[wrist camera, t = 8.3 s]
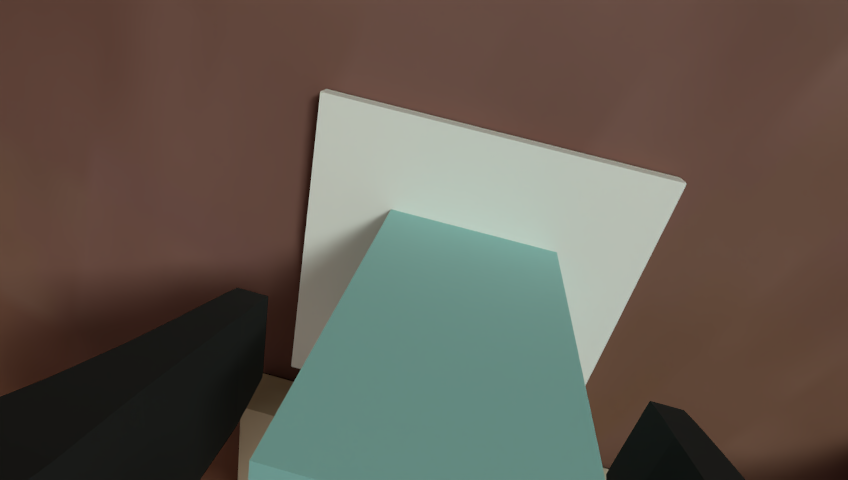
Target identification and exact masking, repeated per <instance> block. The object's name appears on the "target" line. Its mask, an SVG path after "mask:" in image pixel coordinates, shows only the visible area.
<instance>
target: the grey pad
mask: <svg viewBox="0 0 848 480" xmlns="http://www.w3.org/2000/svg"><path fill="white" fill-rule="evenodd" d="M685 186H686V183H685V182H684V181H683V180H682V179H681V178H680V177H676V176H672V175H668V174H664V173H660V172H656V171H652V170H648V169H644V168H640V167H636V166H632V165H628V164H624V163H620V162H616V161H612V160H608V159H604V158H600V157H596V156H592V155H588V154H584V153H580V152H576V151H572V150H568V149H564V148H560V147H556V146H552V145H548V144H544V143H540V142H536V141H532V140H528V139H524V138H520V137H516V136H512V135H508V134H504V133H500V132H496V131H492V130H488V129H484V128H480V127H476V126H472V125H468V124H464V123H460V122H456V121H453V120H449V119H445V118H441V117H437V116H433V115H429V114H425V113H421V112H417V111H413V110H409V109H405V108H401V107H397V106H393V105H389V104H385V103H381V102H377V101H373V100H369V99H365V98H361V97H357V96H353V95H349V94H345V93H341V92H337V91H333V90H329V89H325V90H323V91H321V92H320V99H319V108H318V118H317V127H316V137H315V146H314V156H313V165H312V174H311V184H310V193H309V203H308V212H307V222H306V231H305V240H304V250H303V259H302V269H301V278H300V288H299V297H298V306H297V316H296V325H295V335H294V344H293V354H292V363H291V367H295V368H298V369H301V368H302V366H303V365H304V363H305V361H306V359H307V358H308V356H309V354H310V352H311V350H312V349H313V347H314V345H315V343H316V342H317V340H318V338H319V336H320V335H321V333H322V331H323V329H324V327H325V326H326V324H327V322H328V320H329V319H330V317H331V315H332V313H333V311H334V310H335V308H336V306H337V304H338V303H339V301H340V299H341V297H342V296H343V294H344V292H345V290H346V288H347V287H348V285H349V283H350V281H351V280H352V278H353V276H354V274H355V273H356V271H357V269H358V267H359V265H360V264H361V262H362V260H363V258H364V257H365V255H366V253H367V251H368V249H369V248H370V246H371V244H372V242H373V241H374V239H375V237H376V235H377V234H378V232H379V230H380V228H381V226H382V225H383V223H384V221H385V219H386V218H387V216H388V214H389V212H390V210H391V209H392V210H396V211H400V212H404V213H408V214H411V215H415V216H419V217H423V218H427V219H431V220H434V221H438V222H442V223H446V224H450V225H454V226H457V227H461V228H465V229H469V230H473V231H477V232H481V233H484V234H488V235H492V236H496V237H500V238H504V239H507V240H511V241H515V242H519V243H523V244H527V245H531V246H534V247H538V248H542V249H546V250H550V251H554V252H557V256H558V260H559V265H560V270H561V274H562V279H563V284H564V288H565V293H566V298H567V303H568V307H569V312H570V317H571V321H572V326H573V331H574V335H575V340H576V345H577V349H578V354H579V359H580V364H581V368H582V373H583V378H584V382H585V385H586V383H587V381H588V379H589V377H590V375H591V373H592V371H593V369H594V367H595V365H596V363H597V361H598V359H599V357H600V355H601V353H602V351H603V349H604V347H605V345H606V344H607V342H608V340H609V338H610V336H611V334H612V332H613V330H614V328H615V326H616V324H617V322H618V320H619V318H620V316H621V314H622V312H623V310H624V308H625V306H626V304H627V302H628V300H629V298H630V296H631V294H632V292H633V290H634V288H635V286H636V284H637V282H638V280H639V278H640V276H641V274H642V272H643V270H644V268H645V266H646V264H647V262H648V260H649V258H650V256H651V254H652V252H653V250H654V248H655V246H656V244H657V242H658V240H659V238H660V236H661V234H662V232H663V230H664V228H665V226H666V224H667V222H668V220H669V218H670V216H671V214H672V212H673V210H674V208H675V206H676V204H677V202H678V200H679V198H680V196H681V194H682V192H683V190H684V188H685Z"/></svg>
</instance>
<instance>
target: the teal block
mask: <svg viewBox="0 0 848 480" xmlns="http://www.w3.org/2000/svg"><path fill="white" fill-rule="evenodd" d="M248 480H605V476H604V471H603V467H602V462H601V457H600V453H599V448H598V443H597V439H596V434H595V429H594V424H593V420H592V415H591V410H590V406H589V401H588V396H587V392H586V387H585V382H584V378H583V373H582V368H581V364H580V359H579V354H578V349H577V345H576V340H575V335H574V331H573V326H572V321H571V317H570V312H569V307H568V303H567V298H566V293H565V288H564V284H563V279H562V274H561V270H560V265H559V260H558V256H557V252H554V251H550V250H546V249H542V248H538V247H534V246H531V245H527V244H523V243H519V242H515V241H511V240H507V239H504V238H500V237H496V236H492V235H488V234H484V233H481V232H477V231H473V230H469V229H465V228H461V227H457V226H454V225H450V224H446V223H442V222H438V221H434V220H431V219H427V218H423V217H419V216H415V215H411V214H408V213H404V212H400V211H396V210H392V209H391V210H390V212H389V214H388V216H387V218H386V219H385V221H384V223H383V225H382V226H381V228H380V230H379V232H378V234H377V235H376V237H375V239H374V241H373V242H372V244H371V246H370V248H369V249H368V251H367V253H366V255H365V257H364V258H363V260H362V262H361V264H360V265H359V267H358V269H357V271H356V273H355V274H354V276H353V278H352V280H351V281H350V283H349V285H348V287H347V288H346V290H345V292H344V294H343V296H342V297H341V299H340V301H339V303H338V304H337V306H336V308H335V310H334V311H333V313H332V315H331V317H330V319H329V320H328V322H327V324H326V326H325V327H324V329H323V331H322V333H321V335H320V336H319V338H318V340H317V342H316V343H315V345H314V347H313V349H312V350H311V352H310V354H309V356H308V358H307V359H306V361H305V363H304V365H303V366H302V368H301V370H300V372H299V374H298V375H297V377H296V379H295V381H294V382H293V384H292V386H291V388H290V389H289V391H288V393H287V395H286V397H285V398H284V400H283V402H282V404H281V405H280V407H279V409H278V411H277V413H276V414H275V416H274V418H273V420H272V421H271V423H270V425H269V427H268V428H267V430H266V432H265V434H264V436H263V437H262V439H261V441H260V443H259V444H258V446H257V448H256V450H255V452H254V453H253V455H252V457H251V459H250V460H249V475H248Z"/></svg>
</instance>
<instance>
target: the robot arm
mask: <svg viewBox="0 0 848 480" xmlns="http://www.w3.org/2000/svg"><path fill="white" fill-rule="evenodd" d="M267 306H268V296H265V295H262V294H258V293H255V292H251V291H247V290H244V289H240V288H236V289H234V290H232V291H229V292H227V293H225V294H223V295H221V296H219V297H217V298H215V299H213V300H211V301H209V302H207V303H205V304H203V305H202V306H200V307H198V308H196V309H194V310H192V311H190V312H188V313H186V314H184V315H182V316H180V317H178V318H176V319H174V320H172V321H170V322H168V323H166V324H164V325H162V326H160V327H158V328H156V329H154V330H152V331H150V332H148V333H146V334H144V335H141V336H139V337H137V338H135V339H133V340H131V341H129V342H127V343H125V344H123V345H121V346H119V347H116V348H114V349H112V350H110V351H107V352H105V353H103V354H101V355H98V356H96V357H94V358H92V359H89V360H87V361H85V362H83V363H80V364H78V365H76V366H74V367H71V368H69V369H67V370H65V371H62V372H60V373H58V374H56V375H53V376H51V377H49V378H46V379H44V380H41V381H39V382H37V383H34V384H32V385H29V386H27V387H24V388H22V389H19V390H17V391H14V392H11V393H9V394H6V395H4V396H1V397H0V480H200V478H201V477H202V476H203V474H204V473H205V471H206V470H207V468H208V467H209V466H210V464H211V463H212V461H213V460H214V458H215V457H216V455H217V454H218V452H219V451H220V449H221V448H222V447H223V445H224V444H225V442H226V441H227V439H228V438H229V436H230V435H231V433H232V432H233V430H234V429H235V427H236V426H237V424H238V422H239V421H240V419H241V417H242V415H243V413H244V411H245V410H246V408H247V406H248V404H249V402H250V400H251V398H252V396H253V395H254V393H255V391H256V389H257V387H258V385H259V383H260V381H261V379H262V377H263V363H264V349H265V335H266V321H267ZM606 480H745V479H744V478H743V476H742V475H741V474H740V473H739V472H738V471H737V469H736V468H735V467H734V466H733V465H732V464H731V462H730V461H729V460H728V459H727V458H726V457H725V455H724V454H723V453H722V452H721V451H720V450H719V448H718V447H717V446H716V445H715V444H714V443H713V442H712V440H711V439H710V438H709V437H708V436H707V435H706V434H705V432H704V431H703V430H702V429H701V428H700V427H699V426H698V425H697V424H696V423H695V421H694V420H693V419H692V418H691V417H690V416H689V415H688V414H687V413H686V412H685V411H684V410H681V409H677V408H674V407H670V406H666V405H663V404H659V403H655V402H652V401H650V402H649V404H648V405H647V407H646V409H645V410H644V412H643V414H642V415H641V417H640V419H639V420H638V422H637V424H636V425H635V427H634V429H633V430H632V432H631V434H630V435H629V437H628V439H627V440H626V442H625V444H624V445H623V447H622V449H621V450H620V452H619V454H618V455H617V457H616V459H615V460H614V462H613V464H612V465H611V467H610V469H609V470H608V472H607V474H606Z"/></svg>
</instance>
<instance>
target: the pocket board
mask: <svg viewBox="0 0 848 480" xmlns="http://www.w3.org/2000/svg"><path fill="white" fill-rule="evenodd" d="M292 384H293V381H289V380H286V379H282V378H278V377H275V376H271V375H268V374H264V373H263V377H262V379H261V381H260V383H259V385H258V387H257V389H256V391H255V393H254V395H253V396H252V398H251V400H250V402H249V404H248V406H247V408H246V410H245V411H244V413H243V415H242V417H241V419H240V438H239V461H238V480H248V475H249V460H250V459H251V457H252V455H253V453H254V452H255V450H256V448H257V446H258V444H259V443H260V441H261V439H262V437H263V436H264V434H265V432H266V430H267V428H268V427H269V425H270V423H271V421H272V420H273V418H274V416H275V414H276V413H277V411H278V409H279V407H280V405H281V404H282V402H283V400H284V398H285V397H286V395H287V393H288V391H289V389H290V388H291V386H292ZM608 470H609V469H606V468H603V471H604V476H605V480H606V474H607V472H608Z"/></svg>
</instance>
